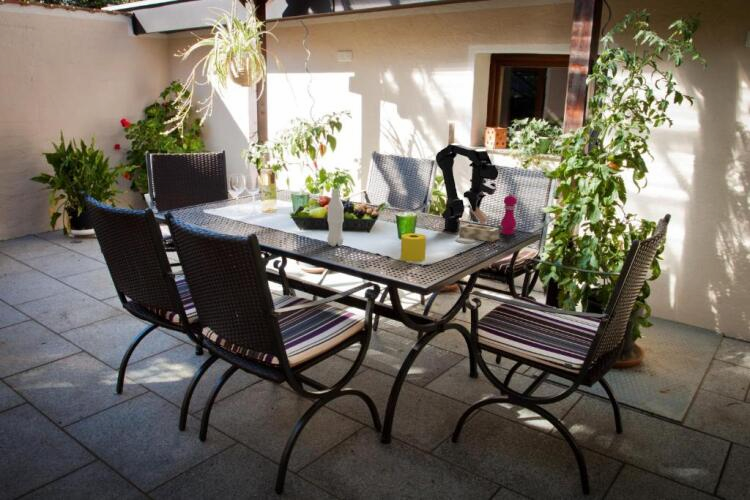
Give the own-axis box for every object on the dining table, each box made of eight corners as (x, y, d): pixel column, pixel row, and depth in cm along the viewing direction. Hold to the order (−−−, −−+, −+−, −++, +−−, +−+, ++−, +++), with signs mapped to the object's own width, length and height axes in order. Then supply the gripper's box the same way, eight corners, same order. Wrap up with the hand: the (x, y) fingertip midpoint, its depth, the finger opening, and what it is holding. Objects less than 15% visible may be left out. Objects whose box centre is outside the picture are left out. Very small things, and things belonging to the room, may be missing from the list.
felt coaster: (452, 241, 281) (452, 240, 280) (460, 237, 288) (460, 236, 288) (471, 244, 276) (471, 243, 276) (478, 240, 284) (478, 239, 283)
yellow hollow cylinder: (407, 262, 246) (408, 240, 244) (396, 256, 255) (397, 234, 253) (429, 260, 250) (430, 238, 248) (418, 254, 259) (418, 232, 256)
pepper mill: (515, 235, 295) (518, 194, 289) (500, 234, 296) (503, 193, 291) (515, 231, 301) (518, 191, 296) (500, 230, 303) (503, 190, 297)
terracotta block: (469, 210, 284) (472, 206, 283) (472, 208, 287) (475, 205, 286) (483, 223, 282) (486, 220, 281) (485, 222, 286) (489, 218, 284)
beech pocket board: (459, 236, 290) (460, 226, 288) (465, 233, 296) (466, 223, 294) (492, 241, 281) (493, 231, 280) (498, 238, 288) (499, 228, 286)
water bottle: (346, 244, 273) (346, 188, 266) (339, 247, 266) (340, 191, 259) (331, 242, 275) (331, 187, 268) (324, 246, 268) (324, 189, 262)
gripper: (487, 181, 269) (485, 216, 273) (501, 176, 285) (499, 209, 289) (464, 179, 274) (462, 213, 278) (478, 174, 290) (476, 206, 294)
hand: (475, 210), depth 285 cm, fingers closed on terracotta block, 4 cm apart
